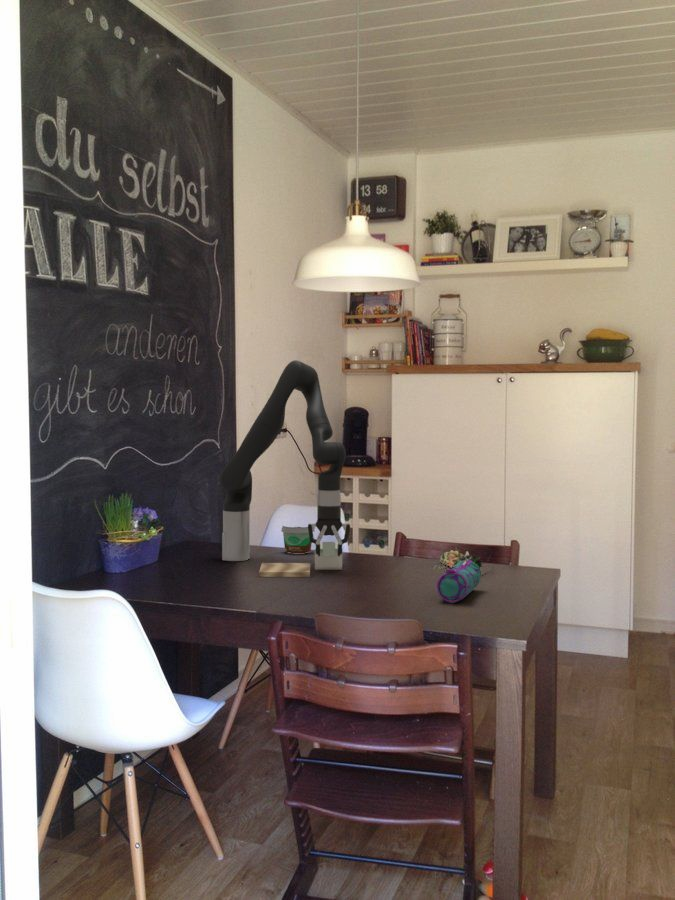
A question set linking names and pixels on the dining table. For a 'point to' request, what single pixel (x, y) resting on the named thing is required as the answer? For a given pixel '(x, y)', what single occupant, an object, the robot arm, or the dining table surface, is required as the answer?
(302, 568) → the board
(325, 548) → the pale grey block
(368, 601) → the dining table surface
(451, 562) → the floral arrangement
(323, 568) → the tub
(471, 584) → the pencil case
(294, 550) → the food container
